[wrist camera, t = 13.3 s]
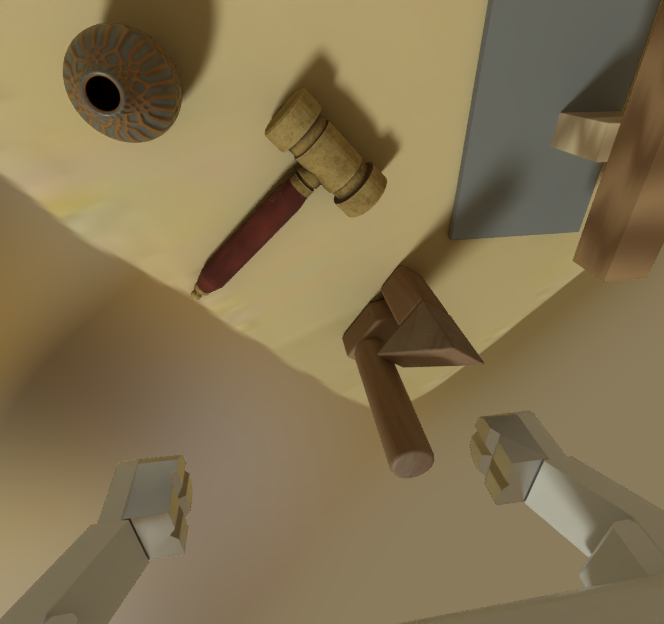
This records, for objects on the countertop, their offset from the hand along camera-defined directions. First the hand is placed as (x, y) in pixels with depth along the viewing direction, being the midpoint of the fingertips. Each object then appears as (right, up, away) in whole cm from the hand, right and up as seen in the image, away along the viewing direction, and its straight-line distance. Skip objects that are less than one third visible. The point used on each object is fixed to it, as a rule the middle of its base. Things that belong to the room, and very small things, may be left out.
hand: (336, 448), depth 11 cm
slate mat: (+19, +20, +25) cm, 37 cm away
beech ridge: (+23, +20, +25) cm, 40 cm away
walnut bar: (+24, +17, +20) cm, 35 cm away
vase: (-14, +21, +19) cm, 32 cm away
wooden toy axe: (+5, +4, +34) cm, 34 cm away
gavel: (-7, +13, +27) cm, 30 cm away
